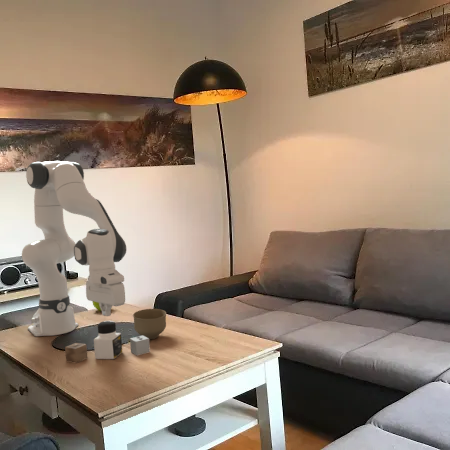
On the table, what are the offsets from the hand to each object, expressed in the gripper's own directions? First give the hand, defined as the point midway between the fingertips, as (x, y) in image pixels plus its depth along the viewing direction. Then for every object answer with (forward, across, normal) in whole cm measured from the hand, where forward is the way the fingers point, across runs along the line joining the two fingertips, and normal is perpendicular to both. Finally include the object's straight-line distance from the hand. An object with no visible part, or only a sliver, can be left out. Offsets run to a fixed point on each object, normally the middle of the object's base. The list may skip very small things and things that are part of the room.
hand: (106, 315), depth 171 cm
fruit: (+14, -60, +33) cm, 70 cm away
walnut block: (+14, -6, -9) cm, 18 cm away
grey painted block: (+14, +6, +9) cm, 18 cm away
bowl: (+15, -4, +21) cm, 26 cm away
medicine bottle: (+14, 0, 0) cm, 15 cm away
